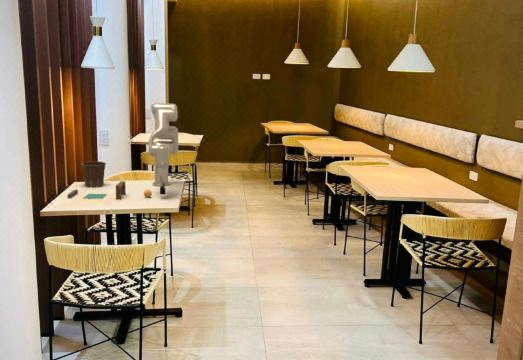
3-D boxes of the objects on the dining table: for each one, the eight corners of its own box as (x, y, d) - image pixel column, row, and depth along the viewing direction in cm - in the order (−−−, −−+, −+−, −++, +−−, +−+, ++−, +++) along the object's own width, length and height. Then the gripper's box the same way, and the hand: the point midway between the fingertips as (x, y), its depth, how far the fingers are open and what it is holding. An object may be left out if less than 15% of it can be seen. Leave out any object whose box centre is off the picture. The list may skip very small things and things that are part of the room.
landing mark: (88, 194, 318) (88, 193, 318) (107, 194, 319) (107, 194, 319) (83, 198, 306) (83, 197, 306) (102, 198, 307) (102, 198, 307)
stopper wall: (74, 193, 318) (74, 189, 318) (78, 193, 319) (77, 189, 318) (67, 198, 305) (67, 194, 304) (71, 198, 305) (70, 194, 304)
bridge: (115, 199, 307) (115, 185, 305) (120, 194, 320) (120, 181, 319) (120, 199, 307) (120, 185, 305) (125, 194, 321) (125, 181, 319)
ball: (144, 196, 317) (144, 188, 316) (152, 196, 317) (152, 189, 316) (143, 198, 312) (143, 190, 311) (151, 198, 312) (151, 190, 311)
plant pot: (105, 188, 336) (104, 165, 333) (80, 188, 333) (79, 165, 330) (107, 183, 352) (107, 161, 349) (83, 183, 349) (83, 161, 345)
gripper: (158, 163, 318) (158, 191, 322) (154, 167, 304) (155, 196, 307) (170, 164, 319) (170, 191, 322) (167, 167, 304) (167, 196, 307)
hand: (162, 193), depth 314 cm, fingers closed
